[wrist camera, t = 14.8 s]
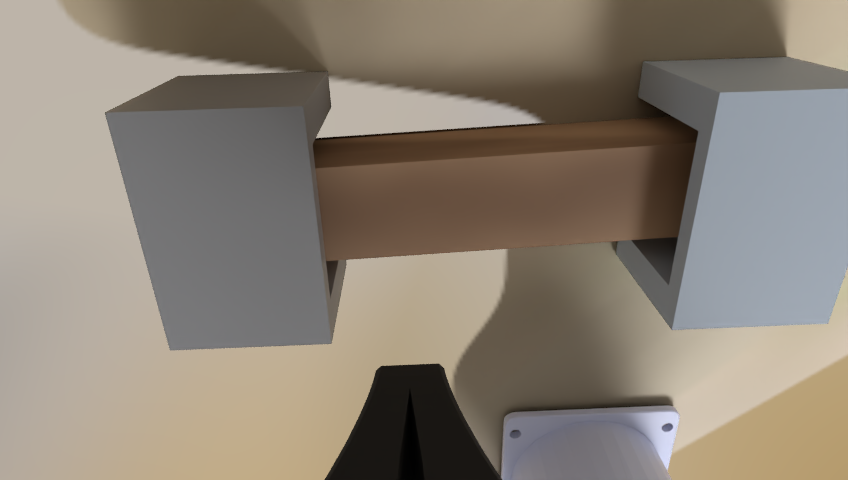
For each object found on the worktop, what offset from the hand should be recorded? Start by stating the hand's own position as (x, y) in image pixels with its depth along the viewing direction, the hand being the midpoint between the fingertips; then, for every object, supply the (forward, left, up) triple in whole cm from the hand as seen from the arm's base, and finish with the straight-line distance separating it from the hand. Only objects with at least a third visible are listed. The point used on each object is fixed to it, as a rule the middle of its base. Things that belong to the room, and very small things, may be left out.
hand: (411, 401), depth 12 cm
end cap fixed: (+2, +5, -10) cm, 12 cm away
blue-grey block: (+2, -11, -10) cm, 15 cm away
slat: (+2, -4, -11) cm, 11 cm away
